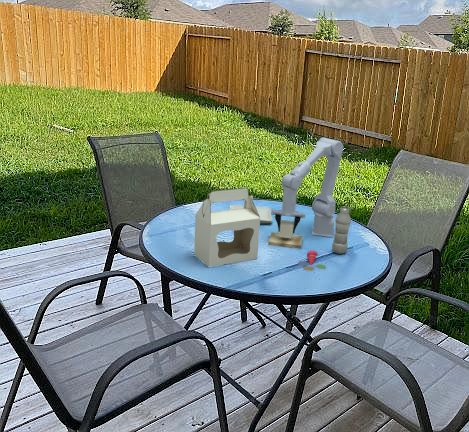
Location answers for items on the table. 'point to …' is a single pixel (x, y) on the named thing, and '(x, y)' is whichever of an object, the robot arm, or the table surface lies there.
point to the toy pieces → (311, 261)
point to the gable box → (235, 219)
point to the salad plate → (262, 211)
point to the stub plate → (285, 241)
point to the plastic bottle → (341, 231)
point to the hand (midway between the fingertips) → (286, 231)
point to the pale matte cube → (286, 229)
